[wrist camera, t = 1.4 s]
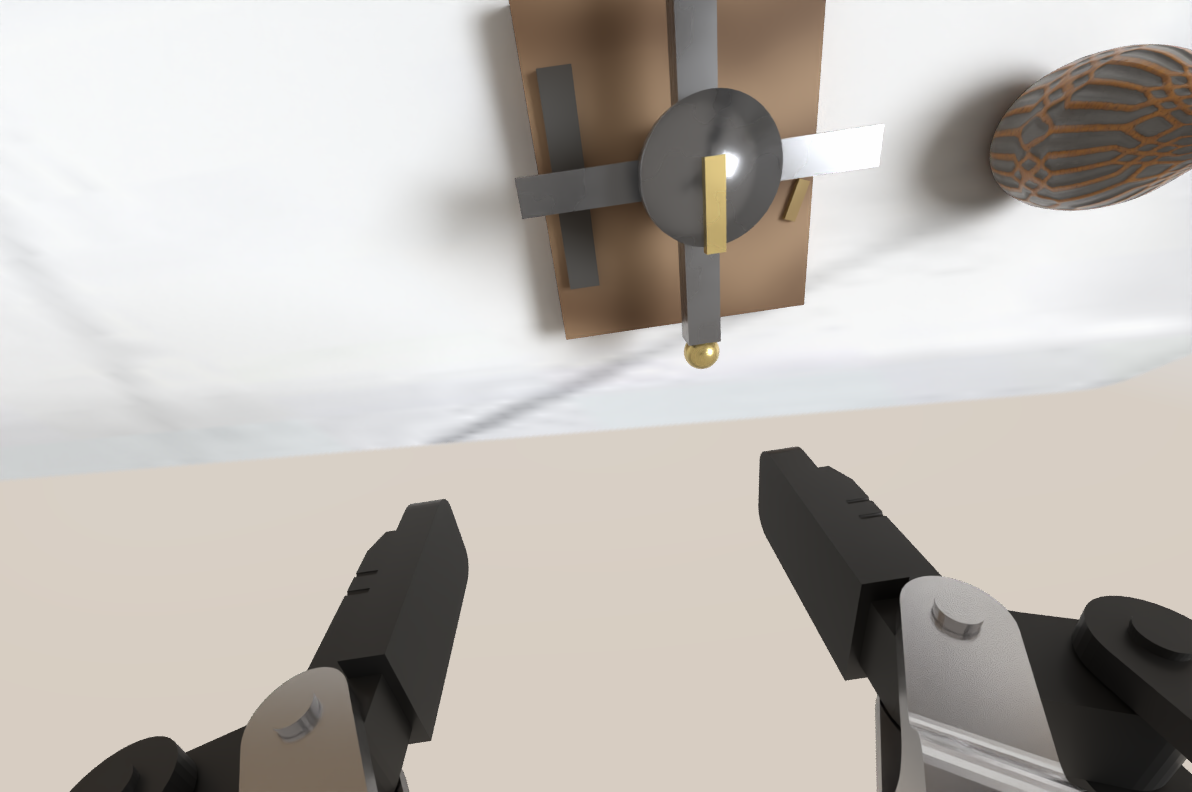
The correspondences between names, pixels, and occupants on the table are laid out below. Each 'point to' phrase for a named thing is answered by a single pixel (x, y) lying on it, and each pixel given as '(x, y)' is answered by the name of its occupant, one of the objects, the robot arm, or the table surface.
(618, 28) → the stand
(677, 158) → the capstan
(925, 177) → the table surface
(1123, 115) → the vase
